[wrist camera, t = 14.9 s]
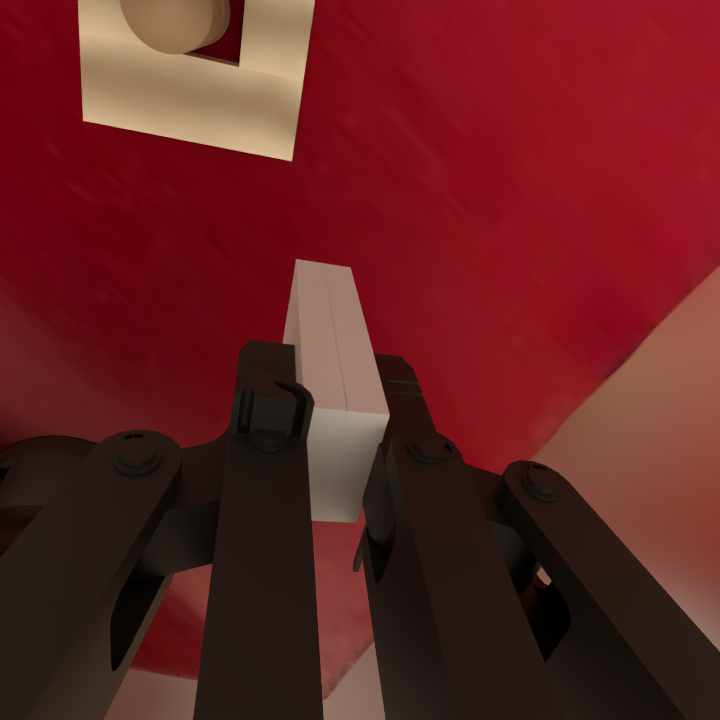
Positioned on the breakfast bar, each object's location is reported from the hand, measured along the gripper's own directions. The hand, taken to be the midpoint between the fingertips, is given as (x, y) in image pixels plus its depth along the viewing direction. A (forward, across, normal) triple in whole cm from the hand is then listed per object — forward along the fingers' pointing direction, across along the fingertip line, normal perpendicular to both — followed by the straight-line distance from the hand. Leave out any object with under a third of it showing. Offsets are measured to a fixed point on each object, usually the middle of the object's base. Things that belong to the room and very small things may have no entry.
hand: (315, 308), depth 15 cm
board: (+30, +7, -6) cm, 32 cm away
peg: (+30, +7, -6) cm, 32 cm away
